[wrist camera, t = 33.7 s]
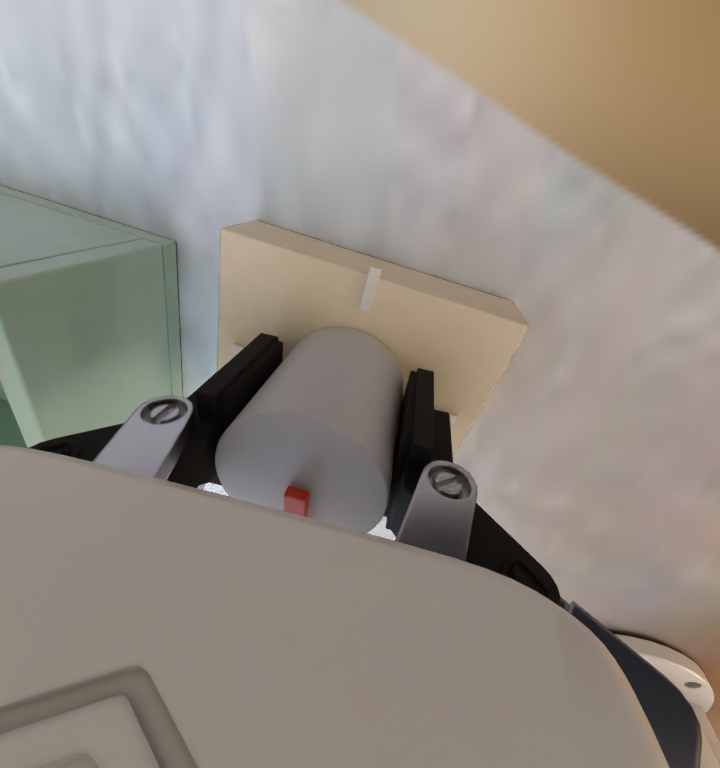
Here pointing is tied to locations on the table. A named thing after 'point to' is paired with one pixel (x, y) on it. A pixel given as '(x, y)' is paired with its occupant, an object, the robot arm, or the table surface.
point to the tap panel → (366, 312)
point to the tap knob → (320, 432)
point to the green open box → (81, 320)
